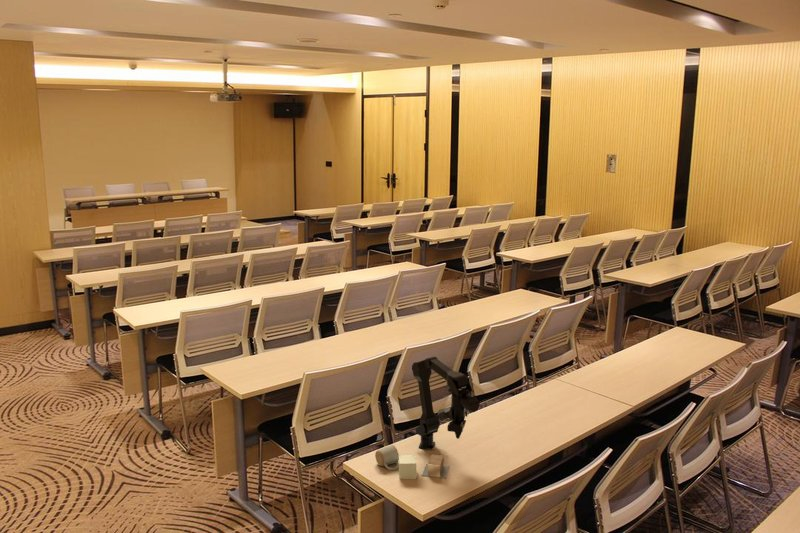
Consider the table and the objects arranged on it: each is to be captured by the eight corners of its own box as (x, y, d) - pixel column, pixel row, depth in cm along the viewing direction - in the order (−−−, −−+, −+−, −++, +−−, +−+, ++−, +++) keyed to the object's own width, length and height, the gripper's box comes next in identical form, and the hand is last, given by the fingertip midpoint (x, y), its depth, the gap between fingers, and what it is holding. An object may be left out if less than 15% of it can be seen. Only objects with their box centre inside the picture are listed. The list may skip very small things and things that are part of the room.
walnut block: (427, 475, 283) (431, 465, 291) (439, 477, 281) (443, 466, 290) (427, 464, 282) (431, 454, 290) (439, 465, 280) (443, 455, 289)
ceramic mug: (374, 462, 294) (374, 446, 292) (390, 457, 298) (390, 441, 297) (386, 473, 285) (386, 456, 284) (403, 468, 290) (403, 451, 288)
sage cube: (398, 470, 287) (398, 455, 286) (415, 470, 288) (415, 455, 286) (399, 479, 281) (399, 463, 279) (416, 478, 281) (416, 463, 279)
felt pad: (426, 464, 292) (426, 464, 292) (449, 466, 290) (449, 466, 290) (421, 476, 283) (421, 475, 283) (445, 478, 280) (445, 478, 280)
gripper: (442, 393, 297) (442, 427, 300) (435, 411, 279) (435, 446, 283) (468, 395, 295) (468, 429, 298) (462, 413, 277) (462, 449, 280)
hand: (457, 438), depth 290 cm, fingers closed
